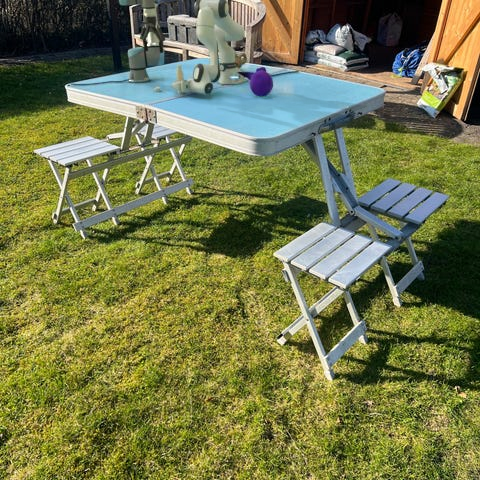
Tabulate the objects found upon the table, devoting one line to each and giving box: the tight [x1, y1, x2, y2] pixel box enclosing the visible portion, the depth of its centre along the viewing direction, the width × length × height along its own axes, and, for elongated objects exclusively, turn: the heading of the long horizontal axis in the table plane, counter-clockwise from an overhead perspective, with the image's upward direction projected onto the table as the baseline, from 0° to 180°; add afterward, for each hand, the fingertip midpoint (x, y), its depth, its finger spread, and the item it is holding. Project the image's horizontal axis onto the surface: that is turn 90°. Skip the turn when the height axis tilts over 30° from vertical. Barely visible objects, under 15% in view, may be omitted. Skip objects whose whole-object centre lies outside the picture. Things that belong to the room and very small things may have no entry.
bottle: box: [175, 64, 186, 95], centre depth 298 cm, size 5×5×18 cm
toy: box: [237, 66, 274, 97], centre depth 289 cm, size 16×18×27 cm
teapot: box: [235, 51, 248, 70], centre depth 367 cm, size 21×12×15 cm, turn 120°
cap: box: [154, 86, 162, 93], centre depth 308 cm, size 4×4×2 cm
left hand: (153, 51), depth 296 cm, fingers open, 13 cm apart
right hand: (179, 82), depth 299 cm, fingers open, 8 cm apart
